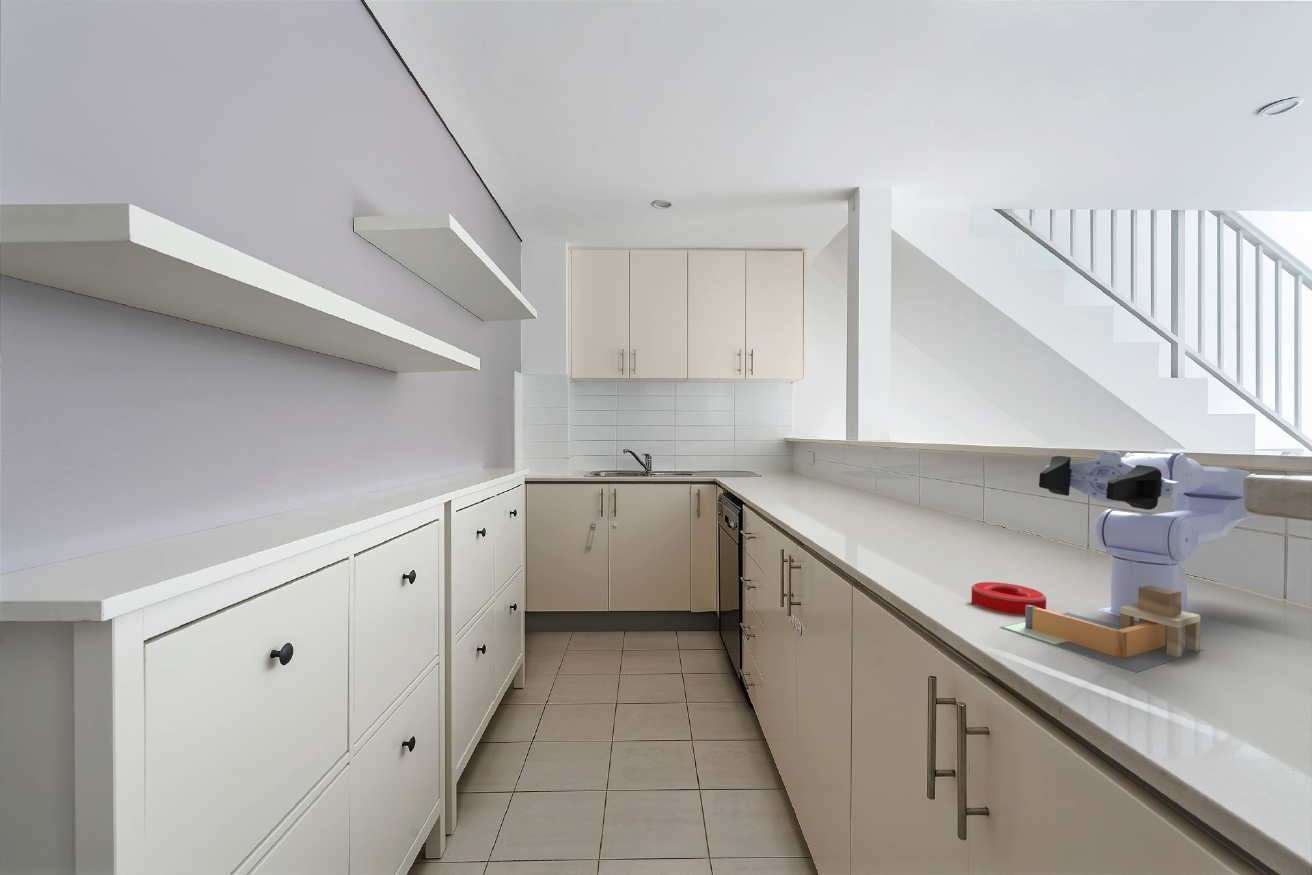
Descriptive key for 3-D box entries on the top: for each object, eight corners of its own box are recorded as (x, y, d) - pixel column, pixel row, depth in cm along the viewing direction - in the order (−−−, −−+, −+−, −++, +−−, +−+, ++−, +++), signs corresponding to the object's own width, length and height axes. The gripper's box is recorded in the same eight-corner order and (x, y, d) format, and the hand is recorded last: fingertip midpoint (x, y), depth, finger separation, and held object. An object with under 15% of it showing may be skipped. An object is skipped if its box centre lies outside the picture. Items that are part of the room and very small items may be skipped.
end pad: (1031, 621, 74) (1031, 620, 74) (1084, 637, 68) (1084, 636, 68) (1003, 627, 72) (1003, 626, 72) (1055, 644, 66) (1055, 643, 66)
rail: (1070, 616, 76) (1071, 596, 76) (1171, 644, 66) (1171, 621, 66) (1023, 627, 72) (1023, 605, 72) (1124, 659, 61) (1124, 633, 61)
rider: (1142, 634, 70) (1143, 581, 70) (1199, 649, 65) (1200, 593, 65) (1119, 640, 67) (1120, 585, 67) (1177, 657, 62) (1178, 598, 62)
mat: (1067, 616, 78) (1067, 612, 78) (1204, 654, 65) (1204, 649, 65) (999, 631, 72) (999, 627, 72) (1136, 677, 58) (1136, 672, 58)
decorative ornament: (957, 602, 86) (957, 582, 86) (1007, 599, 88) (1008, 580, 88) (1007, 622, 76) (1007, 600, 76) (1062, 618, 78) (1062, 597, 78)
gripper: (1069, 443, 81) (1018, 448, 75) (1197, 456, 68) (1149, 463, 62) (1064, 488, 82) (1014, 496, 76) (1190, 509, 69) (1142, 521, 63)
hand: (1074, 485), depth 69 cm, fingers open, 7 cm apart
